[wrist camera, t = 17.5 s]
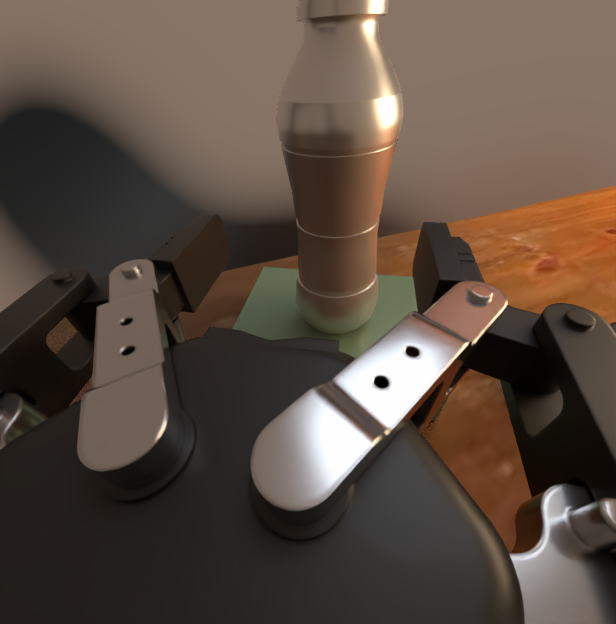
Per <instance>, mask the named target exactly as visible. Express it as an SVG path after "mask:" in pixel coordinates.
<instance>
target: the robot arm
mask: <svg viewBox="0 0 616 624" xmlns="http://www.w3.org/2000/svg"><path fill="white" fill-rule="evenodd" d="M229 257H230V251H229V246H228V242H227V238H226V235H225V231H224V227H223V223H222V220H221V218H220V216H219V215H217V214H198V215H197V216H196V217H195V218H194V219H193V220H192V221H191V222H190V223H189V224H188V225H187V226H186V227H184V228H182V229H180V230H178V231H177V232H176V233H175V234H174V235H173V236H172V237H171V239H169V240H168V241H166V243H165V245H162V246H161V247H160V248H159V249H158V250H157V251H156V252H155V253H154V254H153V255H152V256H151V257H150V258H149V259H148V260H145V259H138V260H132V261H128V262H125V263H123V264H121V265H119V266H117V267H116V268H114V269H113V270H112V271H111V273H110V275H109V277H107V278H99V279H92V277H91V276H90V275H89V273H88V272H87V270H86V269H85V268H82V267H71V268H66V269H63V270H60V271H57V272H55V273H53V274H51V275H49V276H48V277H46V278H45V279H43V280H42V281H41V282H40V283H38V284H37V285H36V286H34V287H33V288H32V289H31V290H29V291H28V292H27V293H25V294H24V295H23V296H21V297H20V298H19V299H18V300H16V301H15V302H14V303H12V304H11V305H10V306H8V307H7V308H6V309H5V310H3V311H2V312H1V313H0V624H616V333H615V332H614V330H613V329H612V328H611V326H610V325H609V324H608V322H606V321H605V320H604V319H603V318H602V317H600V316H599V315H597V314H596V313H594V312H592V311H590V310H588V309H585V308H583V307H580V306H576V305H572V304H565V303H556V304H552V305H549V306H547V307H546V308H545V309H544V311H543V312H542V314H541V315H539V314H536V313H532V312H528V311H525V310H521V309H517V308H514V307H511V306H509V305H507V303H508V302H507V298H506V296H505V295H504V294H503V293H502V292H501V291H500V290H499V289H497V288H496V287H494V286H492V285H490V284H487V283H485V282H484V279H483V277H482V275H481V272H480V270H479V268H478V265H477V263H476V262H475V258H474V256H473V255H472V251H471V249H470V247H469V245H468V244H467V243H466V242H465V241H463V240H462V239H461V238H460V237H451V235H450V232H449V229H448V227H447V224H446V223H435V222H424V223H423V225H422V228H421V232H420V236H419V241H418V245H417V249H416V253H415V257H414V262H413V281H414V288H415V295H416V303H417V310H418V312H417V311H412V312H410V313H409V314H408V315H407V316H405V317H404V318H403V319H402V320H401V321H400V322H398V323H397V324H396V325H395V326H394V327H393V328H391V329H390V330H389V331H388V332H387V333H386V334H384V335H383V336H382V337H381V338H380V339H379V340H377V341H376V342H375V343H374V344H373V345H372V346H370V347H369V348H368V349H367V350H366V351H365V352H363V353H362V354H361V355H360V356H359V357H358V358H354V357H353V356H351V355H348V354H346V353H344V352H341V351H339V340H331V339H321V338H312V337H299V338H288V339H277V340H268V339H264V338H261V337H258V336H256V335H253V334H250V333H247V332H244V331H241V330H235V329H225V328H216V327H209V328H208V330H207V332H206V333H205V335H204V337H197V338H193V339H189V340H186V338H185V334H184V330H183V326H182V323H181V320H180V318H179V316H178V314H179V313H180V311H182V312H192V313H194V312H195V310H196V309H197V308H198V306H199V305H200V303H201V302H202V300H203V299H204V297H205V296H206V294H207V293H208V291H209V290H210V288H211V287H212V285H213V284H214V282H215V281H216V279H217V278H218V276H219V275H220V274H221V272H222V271H223V269H224V267H225V266H226V265H227V263H228V261H229ZM64 317H66V318H67V319H68V320H69V322H70V323H71V324H72V325H73V326H74V327H75V328H76V330H77V331H78V332H77V333H76V334H75V335H74V336H73V337H72V338H71V339H70V340H69V341H68V342H67V343H66V345H65V346H64V347H63V348H62V349H61V350H60V351H59V352H58V353H57V354H55V353H54V352H53V351H52V350H51V349H50V348H49V347H48V346H47V344H46V337H47V335H48V333H49V332H50V331H51V330H52V329H53V328H54V327H55V326H56V325H57V324H58V323H59V322H60V321H61V320H62V319H63V318H64ZM470 369H472V370H475V371H478V372H480V373H483V374H486V375H489V376H491V377H494V378H497V379H500V382H501V386H502V390H503V393H504V397H505V401H506V404H507V408H508V412H509V415H510V419H511V423H512V426H513V430H514V434H515V437H516V441H517V445H518V448H519V452H520V455H521V459H522V463H523V466H524V470H525V474H526V477H527V481H528V485H529V488H530V492H531V496H532V498H531V499H530V500H528V501H526V502H525V503H523V504H522V505H521V506H520V507H519V509H518V510H517V513H516V519H515V524H516V543H515V546H514V549H513V550H512V552H511V553H509V552H508V550H507V548H506V546H505V544H504V542H503V541H502V539H501V537H500V535H499V534H498V532H497V530H496V529H495V527H494V526H493V524H492V523H491V522H490V520H489V519H488V518H487V516H486V515H485V514H484V513H483V511H482V510H481V509H480V508H479V506H478V505H477V504H476V502H475V501H474V500H473V499H472V497H471V496H470V495H469V494H468V492H467V491H466V490H465V488H464V487H463V486H462V485H461V483H460V482H459V481H458V480H457V478H456V477H455V476H454V474H453V473H452V472H451V471H450V469H449V468H448V467H447V466H446V464H445V463H444V462H443V460H442V459H441V458H440V457H439V455H438V454H437V453H436V452H435V450H434V449H433V448H432V446H431V445H430V444H429V443H428V441H427V440H426V439H425V438H424V436H423V435H422V434H421V433H422V432H423V430H424V429H425V428H426V426H427V425H428V424H429V422H430V421H431V419H432V418H433V417H434V415H435V413H436V412H437V410H438V409H439V408H440V406H441V405H442V404H443V402H444V401H445V400H446V399H447V397H448V396H449V395H450V394H451V392H452V391H453V390H454V389H455V388H456V386H457V385H458V384H459V383H460V381H461V380H462V379H463V378H464V376H465V375H466V374H467V373H468V372H469V370H470ZM91 376H92V386H91V388H90V390H88V391H86V392H85V393H84V395H83V397H82V399H81V400H79V401H77V402H76V403H74V404H72V405H70V406H69V404H70V403H71V402H72V401H73V399H74V398H75V397H76V395H77V394H78V393H79V392H80V390H81V389H82V388H83V387H84V385H85V384H86V383H87V381H88V380H89V379H90V378H91ZM68 406H69V407H68Z"/></svg>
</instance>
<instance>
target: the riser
mask: <svg viewBox="0 0 616 624" xmlns="http://www.w3.org/2000/svg"><path fill="white" fill-rule="evenodd" d="M297 274H298V269H287V268H272V267H264V268H263V270H262V272H261V274H260V275H259V277H258V279H257V281H256V283H255V285H254V287H253V289H252V291H251V293H250V295H249V297H248V299H247V301H246V303H245V305H244V307H243V309H242V311H241V313H240V315H239V317H238V319H237V321H236V323H235V324H234V326H233V328H232V329H235V330H241V331H244V332H247V333H250V334H253V335H256V336H258V337H261V338H264V339H268V340H277V339H288V338H299V337H312V338H321V339H331V340H339V351H341V352H344V353H346V354H348V355H351V356H353V357H354V358H358V357H359V356H360V355H361V354H362V353H363V352H365V351H366V350H367V349H368V348H369V347H370V346H372V345H373V344H374V343H375V342H376V341H377V340H379V339H380V338H381V337H382V336H383V335H384V334H386V333H387V332H388V331H389V330H390V329H391V328H393V327H394V326H395V325H396V324H397V323H398V322H400V321H401V320H402V319H403V318H404V317H405V316H407V315H408V314H409V313H410V312H412V311H417V312H418V310H417V303H416V295H415V288H414V281H413V277H408V276H393V275H378V274H377V277H378V301H377V304H376V306H375V309H374V312H373V314H372V316H371V318H370V319H369V320H368V321H367V322H366V323H365V324H363V325H362V326H360V327H359V328H358V329H356V330H354V331H351V332H348V333H343V334H329V333H324V332H321V331H319V330H317V329H315V328H313V327H312V326H311V325H309V324H308V323H307V322H306V321H305V320H304V319H303V318H302V316H301V314H300V311H299V308H298V305H297V302H296V297H295V294H296V280H297ZM448 397H449V396H448ZM448 397H447V399H448ZM447 399H446V400H445V401H444V402H443V404H442V405H441V406H440V408H439V409H438V410H437V412H436V413H435V415H434V417H433V418H432V419H431V421H436V419H437V417H438V415H439V413H440V412H441V410H442V408H443V406H444V404H445V402H446V401H447Z"/></svg>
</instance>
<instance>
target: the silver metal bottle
mask: <svg viewBox="0 0 616 624" xmlns="http://www.w3.org/2000/svg"><path fill="white" fill-rule="evenodd" d="M388 3H389V0H299V6H297V7H296V8H297V21H303V23H304V39H303V44H302V46H301V48H300V50H299V52H298V54H297V56H296V58H295V60H294V62H293V64H292V66H291V68H290V70H289V72H288V75H287V77H286V80H285V83H284V85H283V88H282V90H281V93H280V96H279V100H278V109H277V116H276V121H277V126H278V131H279V138H280V141H281V142H282V144H281V147H282V151H283V155H284V160H285V164H286V168H287V172H288V176H289V181H290V185H291V189H292V194H293V202H294V209H295V215H296V218H297V220H296V223H297V229H298V274H297V280H296V294H295V297H296V302H297V305H298V308H299V311H300V314H301V316H302V318H303V319H304V320H305V321H306V322H307V323H308V324H309V325H311V326H312V327H313V328H315V329H317V330H319V331H321V332H324V333H329V334H343V333H348V332H351V331H354V330H356V329H358V328H359V327H360V326H362V325H363V324H365V323H366V322H367V321H368V320H369V319H370V318H371V316H372V314H373V312H374V309H375V306H376V304H377V301H378V277H377V270H376V262H377V231H378V226H379V220H380V219H379V215H380V213H381V208H382V203H383V196H384V191H385V186H386V182H387V178H388V174H389V171H390V166H391V163H392V159H393V155H394V152H395V147H396V144H397V140H398V139H397V136H398V135H399V133H400V128H401V123H402V118H403V113H404V111H403V102H402V92H401V88H400V85H399V82H398V79H397V76H396V74H395V71H394V68H393V65H392V63H391V61H390V59H389V57H388V55H387V52H386V50H385V48H384V46H383V44H382V42H381V39H380V37H379V20H380V17H381V16H382V15H387V13H388Z"/></svg>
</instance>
